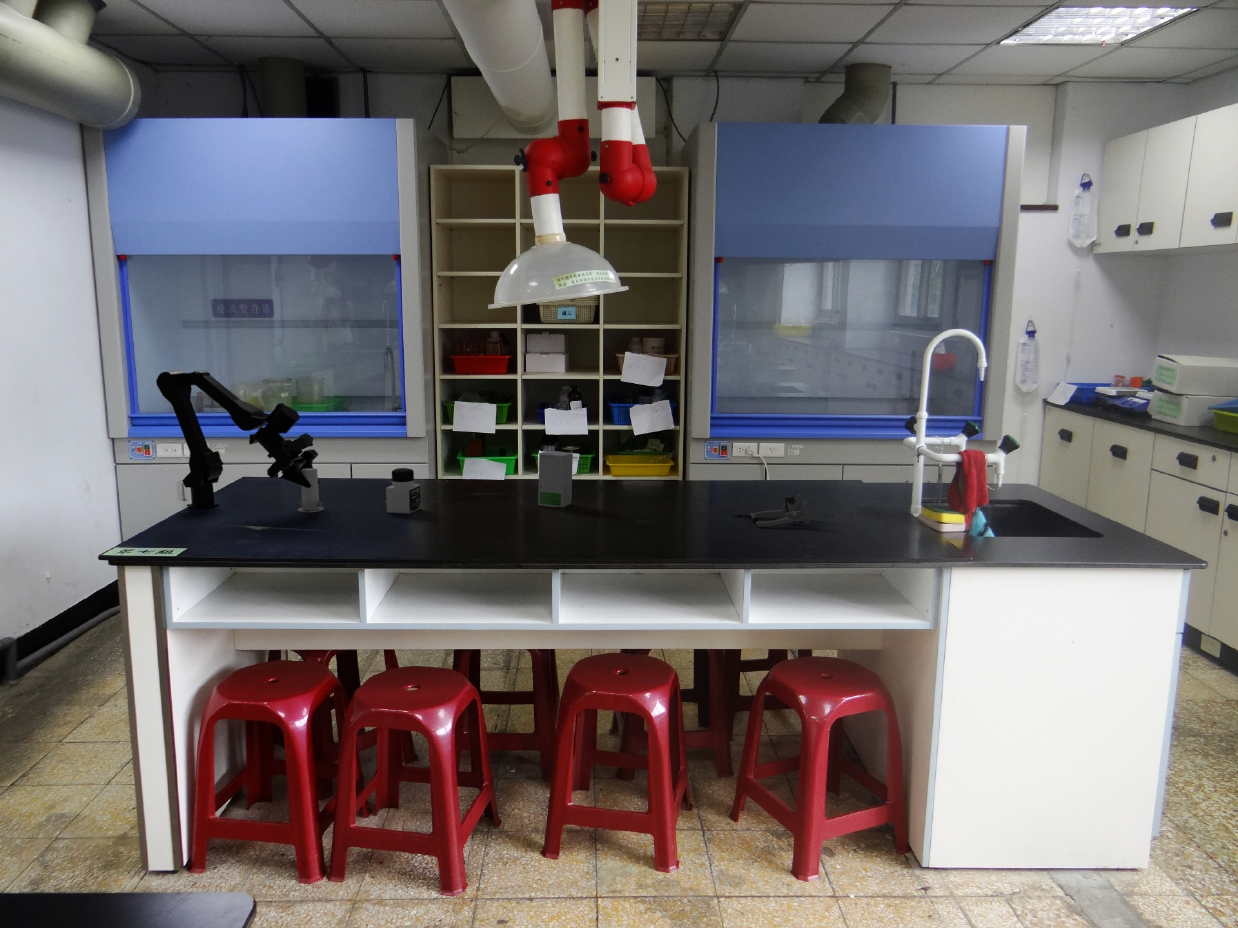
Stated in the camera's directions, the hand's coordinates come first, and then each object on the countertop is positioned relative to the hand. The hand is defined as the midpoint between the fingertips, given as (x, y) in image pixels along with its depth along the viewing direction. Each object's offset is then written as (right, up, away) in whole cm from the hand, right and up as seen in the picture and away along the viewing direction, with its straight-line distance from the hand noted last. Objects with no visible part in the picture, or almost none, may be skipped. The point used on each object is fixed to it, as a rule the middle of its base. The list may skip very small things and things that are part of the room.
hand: (314, 485), depth 243 cm
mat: (-9, -10, -12) cm, 18 cm away
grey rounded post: (-1, -6, +1) cm, 7 cm away
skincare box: (+66, -6, +12) cm, 68 cm away
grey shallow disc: (-1, -7, +1) cm, 8 cm away
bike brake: (+126, -10, -7) cm, 127 cm away
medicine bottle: (+24, -7, +4) cm, 25 cm away
